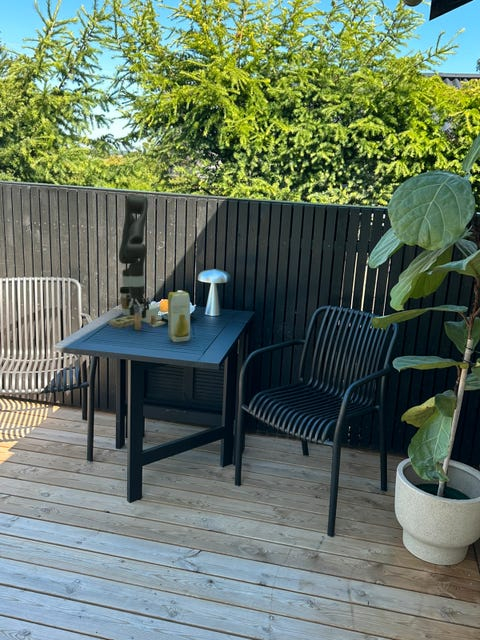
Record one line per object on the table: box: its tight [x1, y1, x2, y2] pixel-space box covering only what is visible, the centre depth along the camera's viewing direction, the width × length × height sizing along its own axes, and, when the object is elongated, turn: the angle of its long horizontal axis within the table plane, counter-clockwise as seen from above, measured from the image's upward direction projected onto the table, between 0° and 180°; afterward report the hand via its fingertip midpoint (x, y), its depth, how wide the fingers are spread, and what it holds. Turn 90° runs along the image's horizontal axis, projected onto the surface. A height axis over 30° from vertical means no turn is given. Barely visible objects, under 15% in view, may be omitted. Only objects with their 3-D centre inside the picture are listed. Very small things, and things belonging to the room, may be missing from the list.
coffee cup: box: [119, 286, 135, 316], centre depth 314 cm, size 8×8×15 cm
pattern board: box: [148, 315, 166, 328], centre depth 296 cm, size 4×8×5 cm, turn 141°
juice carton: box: [167, 290, 191, 343], centre depth 269 cm, size 9×8×24 cm
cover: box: [139, 304, 163, 324], centre depth 304 cm, size 6×10×7 cm, turn 141°
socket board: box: [108, 315, 135, 329], centre depth 297 cm, size 14×8×2 cm, turn 141°
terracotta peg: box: [134, 312, 142, 331], centre depth 287 cm, size 3×3×8 cm
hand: (137, 316), depth 287 cm, fingers open, 8 cm apart
